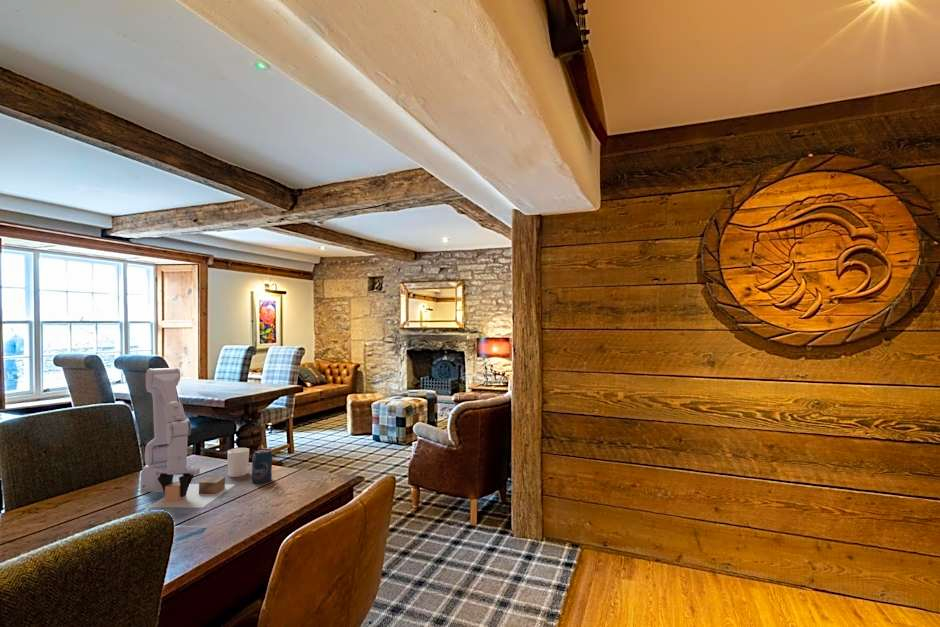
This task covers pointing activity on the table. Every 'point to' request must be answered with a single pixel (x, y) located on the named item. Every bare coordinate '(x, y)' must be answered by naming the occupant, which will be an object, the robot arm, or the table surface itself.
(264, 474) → the soda can
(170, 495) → the top block
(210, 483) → the base block
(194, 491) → the white flat board
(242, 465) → the white cup
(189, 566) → the table surface
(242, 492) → the table surface
